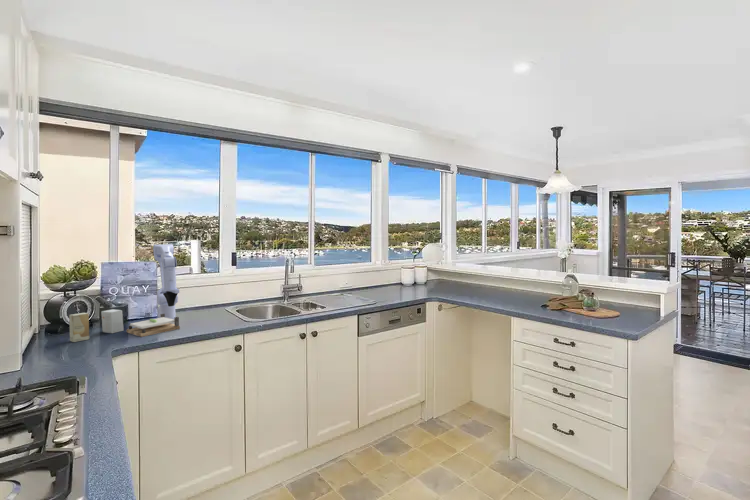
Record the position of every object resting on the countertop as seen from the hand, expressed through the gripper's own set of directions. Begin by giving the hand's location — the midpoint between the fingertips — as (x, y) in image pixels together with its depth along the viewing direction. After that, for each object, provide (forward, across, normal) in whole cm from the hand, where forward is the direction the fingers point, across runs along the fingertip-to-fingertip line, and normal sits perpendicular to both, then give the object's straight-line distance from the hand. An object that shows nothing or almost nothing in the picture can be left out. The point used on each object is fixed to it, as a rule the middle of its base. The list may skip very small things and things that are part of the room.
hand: (171, 306), depth 198 cm
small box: (+11, -14, -22) cm, 28 cm away
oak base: (+10, +2, -10) cm, 15 cm away
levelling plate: (+7, +2, -10) cm, 12 cm away
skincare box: (+11, -9, -37) cm, 40 cm away
